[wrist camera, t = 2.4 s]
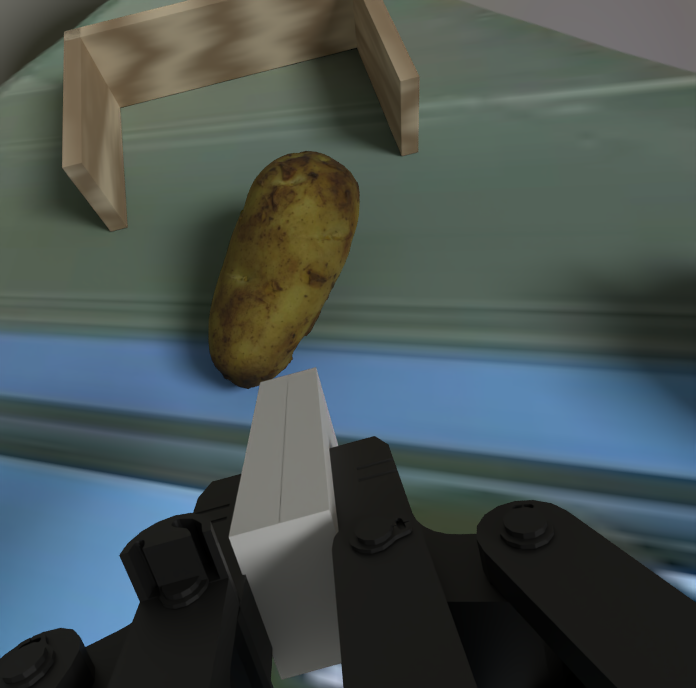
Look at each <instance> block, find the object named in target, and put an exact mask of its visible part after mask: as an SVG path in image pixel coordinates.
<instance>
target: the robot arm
mask: <svg viewBox="0 0 696 688" xmlns="http://www.w3.org/2000/svg"><path fill="white" fill-rule="evenodd" d="M119 556H120V558H121V560H122V562H123V565H124V567H125V569H126V571H127V574H128V576H129V578H130V580H131V583H132V585H133V587H134V589H135V592H136V594H137V596H138V598H139V601H140V603H139V606H138V609H137V611H136V614H135V616H134V619H133V621H132V623H131V624H129V625H128V626H126V627H124V628H122V629H121V630H119V631H117V632H115V633H113V634H111V635H109V636H107V637H105V638H103V639H101V640H99V641H97V642H95V643H93V644H91V645H89V646H87V647H85V646H84V644H83V642H82V640H81V638H80V636H79V635H78V634H77V633H76V632H75V631H74V630H73V629H65V628H58V629H54V630H50V631H46V632H42V633H40V634H38V635H35V636H33V637H32V638H29V639H27V640H25V641H23V642H21V643H20V644H19V645H18V646H16V647H15V648H14V649H12V650H11V651H9V652H8V653H7V654H5V655H4V656H3V657H2V658H1V659H0V688H273V685H272V682H271V668H272V656H273V658H274V661H275V664H276V666H277V669H278V672H279V675H280V677H281V680H282V679H285V678H289V677H293V676H296V675H300V674H304V673H307V672H311V671H314V670H318V669H322V668H325V667H329V666H333V665H336V664H340V663H341V664H342V676H343V687H344V688H696V602H694V601H693V600H691V599H690V598H689V597H687V596H686V595H684V594H683V593H682V592H680V591H679V590H677V589H676V588H675V587H673V586H672V585H670V584H669V583H668V582H666V581H665V580H663V579H662V578H661V577H659V576H658V575H656V574H655V573H654V572H652V571H651V570H649V569H648V568H647V567H645V566H644V565H642V564H641V563H640V562H638V561H637V560H635V559H634V558H633V557H631V556H630V555H628V554H627V553H626V552H624V551H623V550H621V549H620V548H619V547H617V546H616V545H614V544H613V543H611V542H610V541H609V540H607V539H606V538H604V537H603V536H602V535H600V534H599V533H597V532H596V531H595V530H593V529H592V528H590V527H589V526H588V525H586V524H585V523H583V522H582V521H581V520H579V519H578V518H576V517H575V516H574V515H572V514H571V513H569V512H568V511H566V510H564V509H562V508H560V507H558V506H556V505H554V504H552V503H547V502H541V501H536V500H527V501H514V502H510V503H507V504H504V505H500V506H497V507H496V508H494V509H493V510H491V511H490V512H488V513H487V514H485V515H484V517H483V518H482V520H481V521H480V522H479V524H478V525H477V534H444V533H440V532H436V531H433V530H430V529H428V528H426V527H424V526H423V525H421V524H420V523H419V522H418V521H417V520H416V519H415V517H414V515H413V513H412V511H411V508H410V505H409V502H408V499H407V496H406V494H405V491H404V488H403V485H402V482H401V479H400V476H399V474H398V471H397V468H396V465H395V462H394V460H393V457H392V454H391V451H390V448H389V445H388V444H387V443H385V442H383V441H382V440H380V439H379V438H377V437H376V436H373V437H370V438H366V439H362V440H358V441H355V442H351V443H347V444H344V445H340V446H338V443H337V440H336V436H335V433H334V429H333V426H332V422H331V419H330V415H329V412H328V408H327V404H326V401H325V397H324V394H323V390H322V387H321V383H320V380H319V376H318V373H317V369H316V368H312V369H308V370H305V371H301V372H297V373H293V374H290V375H286V376H282V377H278V378H275V379H271V380H267V381H263V382H260V387H259V391H258V396H257V401H256V406H255V411H254V416H253V421H252V426H251V430H250V435H249V440H248V445H247V450H246V455H245V460H244V465H243V470H242V474H239V475H235V476H232V477H228V478H224V479H220V480H217V481H213V482H212V483H211V484H210V485H209V486H208V487H207V488H206V489H205V491H204V492H203V493H202V494H201V495H200V496H199V497H198V500H197V503H196V506H195V509H194V512H193V513H187V514H181V515H175V516H173V517H170V518H167V519H165V520H162V521H159V522H157V523H155V524H154V525H152V526H150V527H148V528H147V529H145V530H143V531H142V532H140V533H139V534H138V535H137V536H136V537H135V538H133V539H132V540H131V541H130V542H129V543H128V544H127V545H126V547H125V548H124V549H123V551H122V552H121V553H120V555H119Z"/></svg>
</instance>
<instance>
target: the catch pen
mask: <svg viewBox="0 0 696 688" xmlns="http://www.w3.org/2000/svg"><path fill="white" fill-rule="evenodd" d="M354 48H357V49H358V51H359V54H360V56H361V59H362V61H363V63H364V66H365V68H366V71H367V73H368V76H369V78H370V80H371V83H372V85H373V88H374V90H375V93H376V95H377V97H378V100H379V102H380V105H381V107H382V109H383V112H384V114H385V117H386V119H387V122H388V124H389V126H390V129H391V131H392V134H393V136H394V138H395V141H396V143H397V146H398V148H399V151H400V153H401V155H402V156H404V155H408V154H412V153H416V152H418V128H419V75H418V73H417V71H416V68H415V66H414V64H413V62H412V60H411V58H410V56H409V54H408V52H407V50H406V48H405V46H404V44H403V42H402V40H401V37H400V35H399V33H398V31H397V29H396V27H395V25H394V23H393V21H392V19H391V17H390V15H389V13H388V11H387V9H386V6H385V4H384V2H383V0H188V1H184V2H180V3H176V4H172V5H168V6H164V7H160V8H156V9H152V10H148V11H144V12H140V13H136V14H132V15H128V16H124V17H120V18H116V19H112V20H108V21H104V22H100V23H96V24H92V25H88V26H84V27H80V28H76V29H72V30H68V31H65V32H64V80H63V148H62V168H63V169H64V171H65V172H66V173H67V175H68V176H69V177H70V179H71V180H72V181H73V183H74V184H75V185H76V187H77V188H78V189H79V190H80V192H81V193H82V194H83V196H84V197H85V198H86V200H87V201H88V202H89V204H90V205H91V206H92V208H93V209H94V210H95V211H96V213H97V214H98V215H99V217H100V218H101V219H102V221H103V222H104V223H105V225H106V226H107V227H108V228H109V230H110V231H115V230H119V229H123V228H127V211H126V195H125V179H124V163H123V146H122V130H121V114H120V108H121V107H125V106H129V105H133V104H137V103H141V102H145V101H149V100H153V99H157V98H160V97H164V96H168V95H172V94H176V93H180V92H184V91H188V90H192V89H196V88H200V87H204V86H208V85H212V84H216V83H220V82H224V81H227V80H231V79H235V78H239V77H243V76H247V75H251V74H255V73H259V72H263V71H267V70H271V69H275V68H279V67H283V66H287V65H290V64H294V63H298V62H302V61H306V60H310V59H314V58H318V57H322V56H326V55H330V54H334V53H338V52H342V51H346V50H350V49H354Z"/></svg>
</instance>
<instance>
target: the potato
mask: <svg viewBox="0 0 696 688" xmlns="http://www.w3.org/2000/svg"><path fill="white" fill-rule="evenodd" d="M359 196H360V194H359V186H358V182H356V180H355V178H354V177H353V175H352V173H351V172H350V171H349V170H348V169H347V168H346V167H345V166H343V165H342V164H340V163H339V162H337V161H336V160H334V159H332V158H331V157H329V156H327V155H325V154H322V153H318V152H312V151H304V152H300V153H291V154H287V155H284V156H282V157H280V158H278V159H276V160H274V161H273V162H271V163H270V164H269V165H268V166H266V167H265V168H264V169H263V170H262V171H261V172H260V174H259V175H258V176H257V177H256V179H255V180H254V182H253V184H252V186H251V188H250V190H249V193H248V195H247V199H246V202H245V206H244V209H243V210H242V211H241V213H240V216H239V219H238V221H237V223H236V226H235V229H234V231H233V234H232V237H231V240H230V243H229V247H228V250H227V254H226V257H225V260H224V263H223V266H222V269H221V272H220V275H219V278H218V282H217V285H216V288H215V292H214V295H213V299H212V304H211V309H210V316H209V350H210V355H211V359H212V361H213V363H214V365H215V367H216V368H217V369H218V370H219V371H220V372H221V373H222V375H223V376H224V378H225V379H228V380H230V381H231V382H232V383H233V384H235V385H236V386H239V387H242V388H246V389H249V388H252V387H256V386H259V385H260V382H263V381H267V380H271V379H273V378H274V377H276V376H277V375H278V374H279V373H280V372H281V371H282V370H284V369H285V368H286V367H287V365H288V363H290V362H291V360H292V359H293V357H292V354H293V351H294V350H295V348H296V347H297V345H298V344H299V342H300V341H301V339H302V338H303V337H304V336H307V335H308V334H309V333H310V332H311V330H312V328H313V326H314V324H315V322H316V320H317V319H318V317H319V315H320V312H321V309H322V307H323V305H324V303H325V301H326V300H327V299H328V297H329V294H330V292H331V290H332V288H333V287H334V284H335V282H336V280H337V278H338V277H339V275H340V273H341V270H342V268H343V266H344V264H345V262H346V259H347V257H348V254H349V251H350V246H351V242H352V239H353V236H354V233H355V230H356V226H357V222H358V216H359V203H360V200H359Z"/></svg>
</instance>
